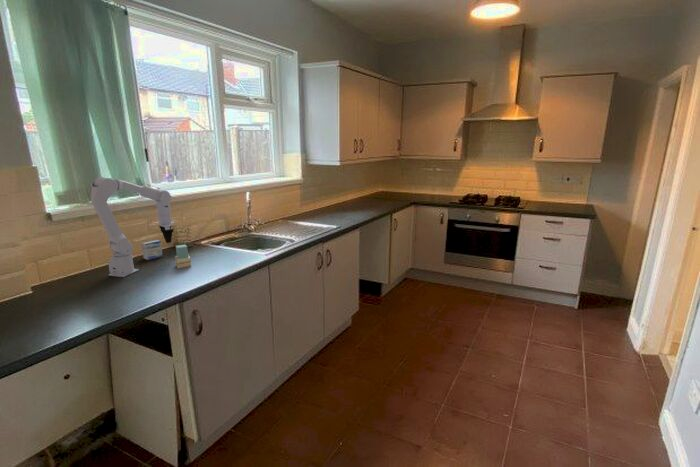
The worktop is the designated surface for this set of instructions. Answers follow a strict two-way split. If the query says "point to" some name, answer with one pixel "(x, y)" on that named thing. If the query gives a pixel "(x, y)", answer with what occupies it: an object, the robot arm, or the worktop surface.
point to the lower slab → (183, 265)
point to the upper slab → (183, 260)
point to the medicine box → (152, 249)
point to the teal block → (182, 251)
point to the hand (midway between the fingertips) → (167, 240)
